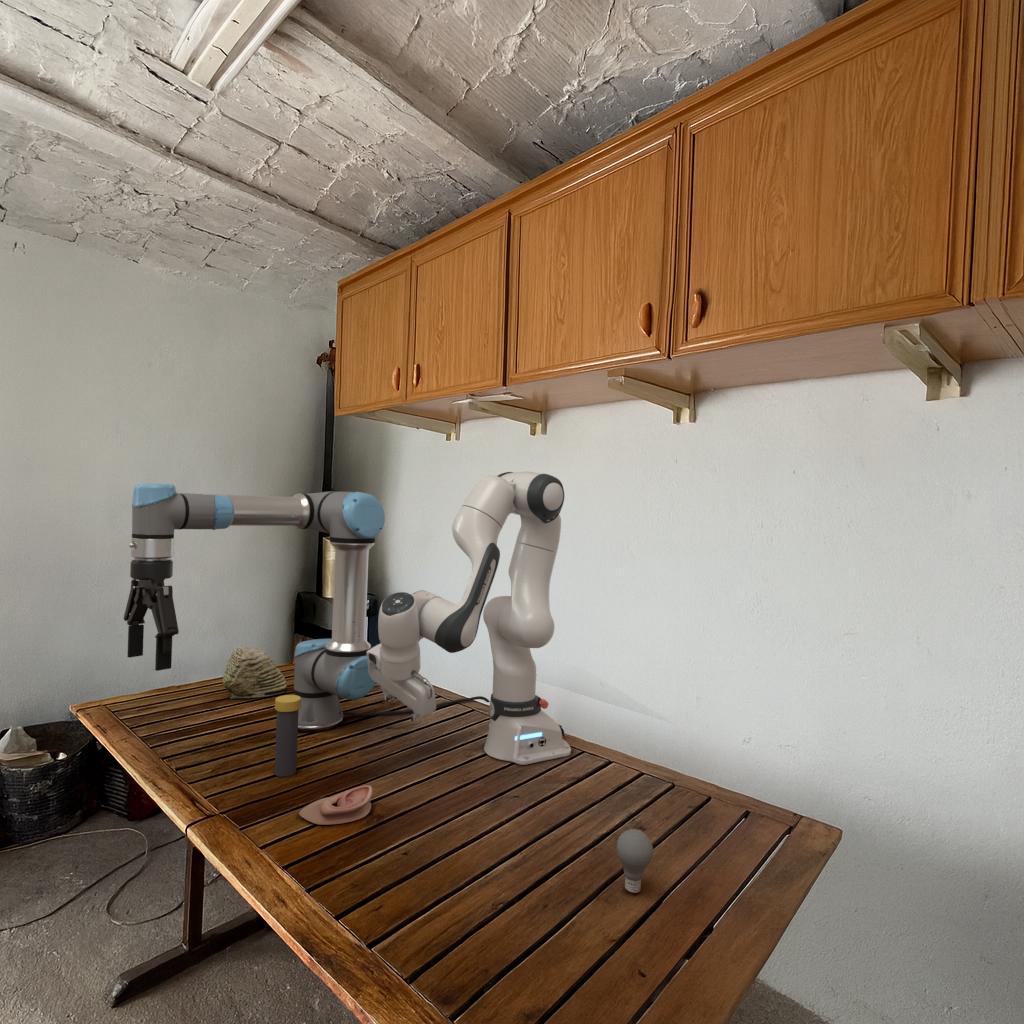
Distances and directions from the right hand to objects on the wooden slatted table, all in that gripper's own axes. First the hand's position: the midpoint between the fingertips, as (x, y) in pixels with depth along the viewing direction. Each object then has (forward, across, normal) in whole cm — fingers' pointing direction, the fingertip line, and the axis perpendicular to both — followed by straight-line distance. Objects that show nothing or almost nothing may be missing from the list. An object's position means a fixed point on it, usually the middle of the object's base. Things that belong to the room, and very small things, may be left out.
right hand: (402, 710), depth 147 cm
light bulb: (-3, -64, +2) cm, 64 cm away
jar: (+12, +14, +23) cm, 30 cm away
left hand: (-19, +30, +40) cm, 54 cm away
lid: (-3, +19, +18) cm, 26 cm away
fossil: (+33, +68, +5) cm, 76 cm away
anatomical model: (+6, -8, +24) cm, 26 cm away
